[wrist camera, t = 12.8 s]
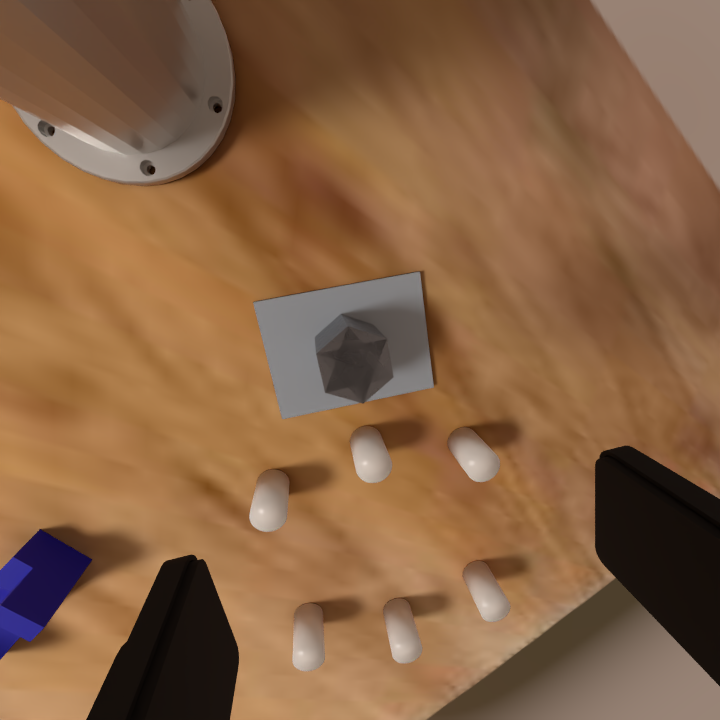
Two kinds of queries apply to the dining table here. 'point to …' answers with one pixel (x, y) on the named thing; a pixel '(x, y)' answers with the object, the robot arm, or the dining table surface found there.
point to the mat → (317, 310)
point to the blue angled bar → (36, 586)
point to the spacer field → (397, 612)
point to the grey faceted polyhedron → (353, 359)
